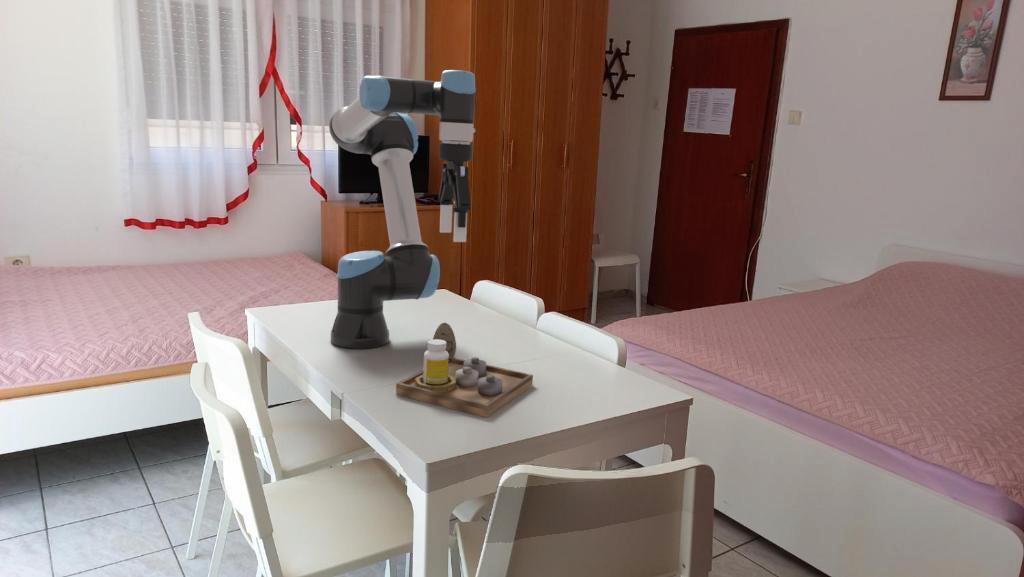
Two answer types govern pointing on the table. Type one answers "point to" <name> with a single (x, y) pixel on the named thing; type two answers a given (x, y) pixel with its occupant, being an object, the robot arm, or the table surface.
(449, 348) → the decorative egg
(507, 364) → the table surface
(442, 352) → the supplement bottle
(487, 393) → the carrier
